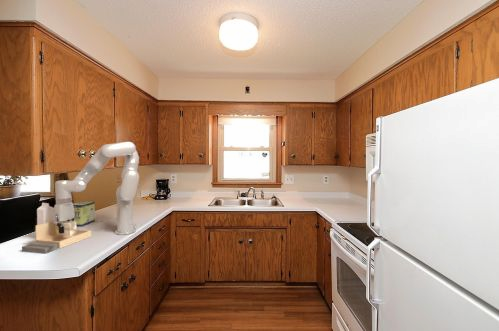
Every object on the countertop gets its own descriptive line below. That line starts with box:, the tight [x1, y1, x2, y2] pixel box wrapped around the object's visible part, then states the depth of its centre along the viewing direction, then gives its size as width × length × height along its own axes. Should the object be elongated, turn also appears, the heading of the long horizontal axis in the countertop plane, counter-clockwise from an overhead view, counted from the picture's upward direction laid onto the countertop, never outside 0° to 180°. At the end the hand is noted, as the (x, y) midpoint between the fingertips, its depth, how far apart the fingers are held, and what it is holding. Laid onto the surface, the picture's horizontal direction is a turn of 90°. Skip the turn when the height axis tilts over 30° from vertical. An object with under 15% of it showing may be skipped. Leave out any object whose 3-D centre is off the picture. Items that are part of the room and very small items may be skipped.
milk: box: [36, 202, 54, 225], centre depth 156 cm, size 6×6×22 cm
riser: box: [21, 242, 58, 255], centre depth 136 cm, size 6×15×3 cm, turn 79°
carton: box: [35, 220, 92, 250], centre depth 151 cm, size 21×16×12 cm
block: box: [55, 221, 78, 236], centre depth 151 cm, size 4×10×7 cm, turn 79°
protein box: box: [73, 201, 96, 227], centre depth 191 cm, size 10×16×16 cm
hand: (65, 231), depth 151 cm, fingers closed on block, 4 cm apart
